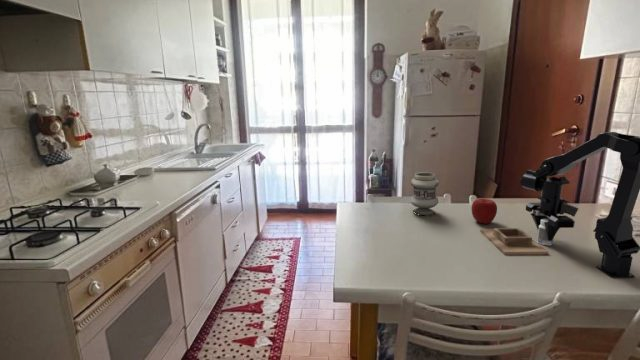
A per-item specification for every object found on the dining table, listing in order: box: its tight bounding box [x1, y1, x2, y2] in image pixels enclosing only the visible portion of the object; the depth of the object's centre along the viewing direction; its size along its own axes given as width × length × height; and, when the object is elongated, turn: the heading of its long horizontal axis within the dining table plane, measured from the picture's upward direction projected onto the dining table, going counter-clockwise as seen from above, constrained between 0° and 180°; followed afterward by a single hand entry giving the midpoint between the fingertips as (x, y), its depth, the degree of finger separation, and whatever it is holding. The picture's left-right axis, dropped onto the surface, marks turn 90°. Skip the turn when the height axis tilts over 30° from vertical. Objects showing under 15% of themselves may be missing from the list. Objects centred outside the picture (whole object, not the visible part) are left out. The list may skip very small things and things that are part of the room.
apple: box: [471, 198, 498, 225], centre depth 143 cm, size 10×10×10 cm
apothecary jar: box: [410, 171, 440, 217], centre depth 156 cm, size 12×12×18 cm
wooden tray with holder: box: [479, 227, 549, 256], centre depth 124 cm, size 20×14×4 cm
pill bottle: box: [536, 219, 554, 246], centre depth 122 cm, size 5×5×8 cm
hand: (545, 237), depth 122 cm, fingers closed on pill bottle, 5 cm apart
